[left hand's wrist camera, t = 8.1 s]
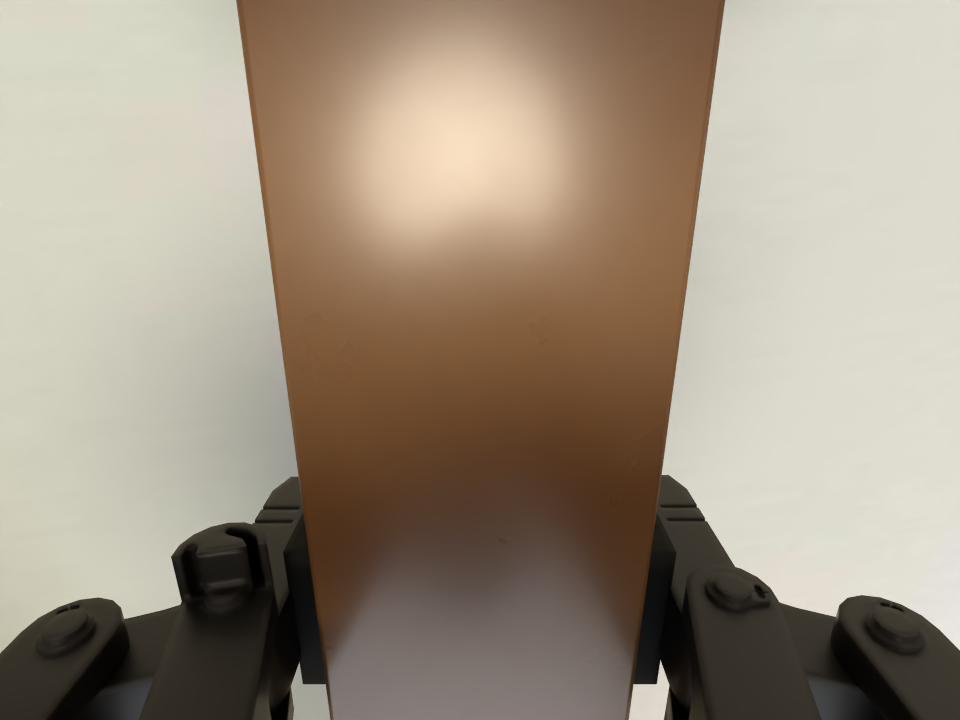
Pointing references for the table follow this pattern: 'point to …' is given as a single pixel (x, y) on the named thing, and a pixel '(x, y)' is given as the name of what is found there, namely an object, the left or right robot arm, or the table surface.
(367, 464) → the bar
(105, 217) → the table surface
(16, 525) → the table surface
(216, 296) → the table surface
